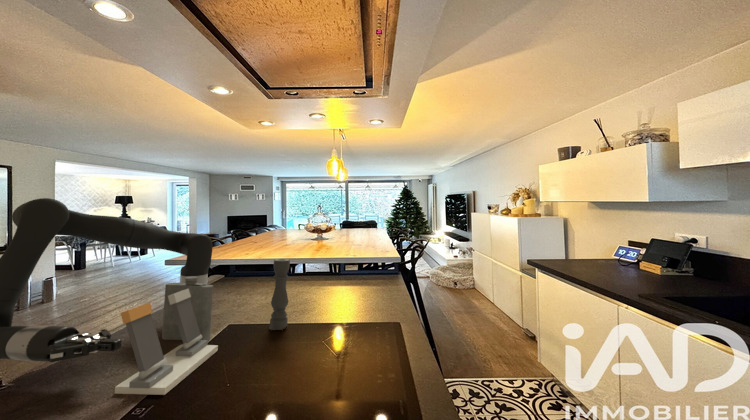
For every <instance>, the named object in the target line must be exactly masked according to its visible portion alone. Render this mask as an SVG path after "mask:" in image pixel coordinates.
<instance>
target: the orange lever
mask: <svg viewBox="0 0 750 420" xmlns="http://www.w3.org/2000/svg"><path fill="white" fill-rule="evenodd" d="M153 313H154V312H153V308H152V305H151V302H148V303H147V302H146V303H144V304H141V305H139V306H136V307H133V308H130V309H127V310H124V311H121V312H120V316H121V317H120V318H121V320H122V324H123V325H124V324H125V326H126V330H127V333H128V336H129V341H130V345H131V347H132V351H133V354H134V358H135V361H136V365H137V368H138V372H139V378H141V379H143V378H145V377H146V376H148V375H149V374H151V373H152V372H154V371H155V370H157V369H158V368H160V367H161V366H162V365H164V364H165V363H166V359H165V358H164V353H163V349H162V346H161V342H160V339H159V336H158V332H157V329H156V325H155V322H154V318H153V316H152V314H153Z"/></svg>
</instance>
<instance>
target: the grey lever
mask: <svg viewBox="0 0 750 420" xmlns="http://www.w3.org/2000/svg"><path fill="white" fill-rule="evenodd" d="M190 297H191V295H190V292H189V289H186V290H183V291H180V292H177V293H174V294H171V295H169V296H168V299H169V302H170V305H171V304H172V307H173V310H174V313H175V317H176V320H177V324H178V327H179V331H180V334H181V338H182V340H181V341H182V344H183V348H184V349H187V348H189V347H190V346H192V345H193V344H195V343H196V342H197V341H199V340H200V339H202V335H201V334H200V331H199V328H198V324H197V321H196V317H195V314H194V310H193V307H192V304H191V300H190Z"/></svg>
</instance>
